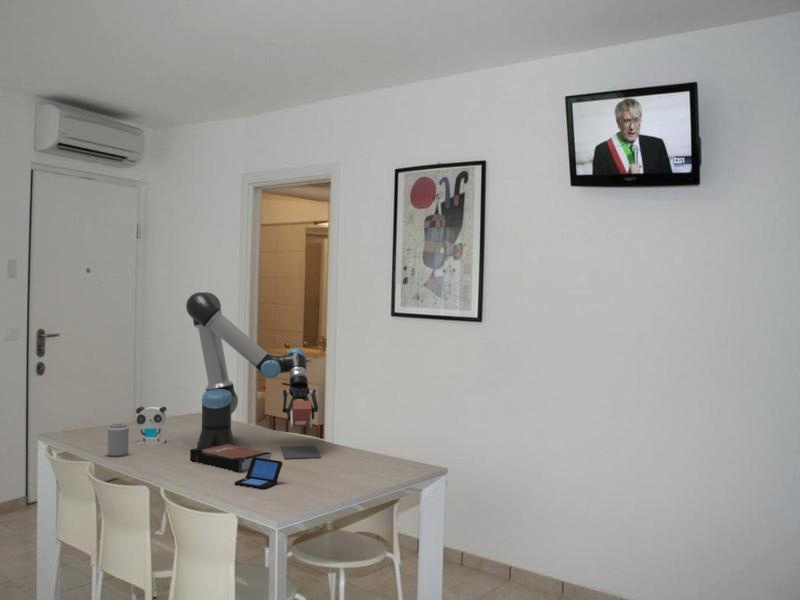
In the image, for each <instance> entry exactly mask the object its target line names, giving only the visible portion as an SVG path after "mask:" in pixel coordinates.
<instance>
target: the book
mask: <svg viewBox="0 0 800 600" xmlns="http://www.w3.org/2000/svg"><path fill="white" fill-rule="evenodd" d="M189 454H190V455H189V462H190V461H192V462H191V463H193V462H199V463H198V464H200V463H203V464H202V465H205V464H207V465H206V466H209V465H211V466H210V467H213V466H215V467H214V468H218V467H219V469H222V468H223V470H226V469H228V470H227V471H231V470H232V472H233V471H234V472H233V473H237V472H238V473H239V472H240V473H243V471H244V472H247V471H246V470H248V469H249V466H250V464H251V461H252V459H253V458H254V457H256V458H263V459H269V460H272V459H271V458H272V456H273V452H269V451H263V450H259V449H254V448H252V447H250V446H238V445H235V446H234V445H229V444H220V445H215V446H211V447H206V448H201V449H198V448H197V447H196V448H191V449H190V450H189ZM238 473H237V474H238ZM240 473H239V474H240Z"/></svg>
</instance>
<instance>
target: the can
mask: <svg viewBox="0 0 800 600" xmlns="http://www.w3.org/2000/svg"><path fill="white" fill-rule="evenodd" d="M129 429H130V428H129V426H128V424H127V423H125V422H117V423H110V425H109V427H108V429H107V454H108V456H110V457H114V456H117V457H121V456H120V455H124V456H126V455H127V454H128V453H129V443H130V442H129V440H130V439H129V438H130V437H129V432H130V431H129ZM125 454H126V455H125Z"/></svg>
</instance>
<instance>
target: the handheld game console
mask: <svg viewBox="0 0 800 600" xmlns="http://www.w3.org/2000/svg"><path fill="white" fill-rule="evenodd" d="M282 467H283V461H281V460H276V459H275V460H274V459H271V460H269V459H263V458H256V457H254V458H253V459H252V461H251V464H250V466H249V469H248V471H246V472H247V473H246V475H245V477H244V478H241V479H238V480H236V481H234V485H235V486H237V485H240V486H239V487H243V486H246V487H245V488H249V487H253V488H252V489H255V488H259V489H258V490H261V489H265V490H268V489H270V488H272V487H274V485H275V486H276V484H278V480H279V475H280V473H281V469H282ZM269 487H270V488H269ZM267 488H268V489H267Z"/></svg>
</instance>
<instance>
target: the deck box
mask: <svg viewBox="0 0 800 600" xmlns="http://www.w3.org/2000/svg"><path fill="white" fill-rule="evenodd" d="M311 404H312V400H310V401H304V400H295V401H293V407H292V409H291V410H292V416H293V427H310V423H309V420H310V415H311Z"/></svg>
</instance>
